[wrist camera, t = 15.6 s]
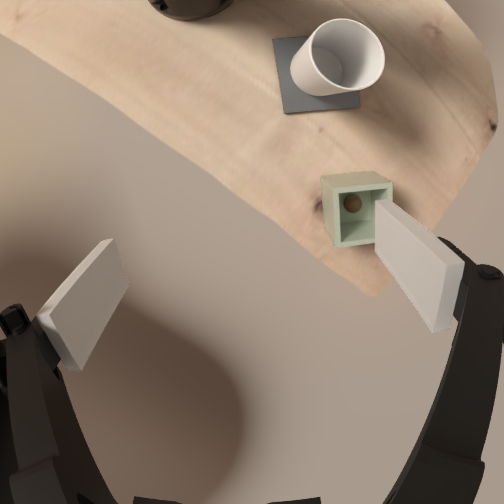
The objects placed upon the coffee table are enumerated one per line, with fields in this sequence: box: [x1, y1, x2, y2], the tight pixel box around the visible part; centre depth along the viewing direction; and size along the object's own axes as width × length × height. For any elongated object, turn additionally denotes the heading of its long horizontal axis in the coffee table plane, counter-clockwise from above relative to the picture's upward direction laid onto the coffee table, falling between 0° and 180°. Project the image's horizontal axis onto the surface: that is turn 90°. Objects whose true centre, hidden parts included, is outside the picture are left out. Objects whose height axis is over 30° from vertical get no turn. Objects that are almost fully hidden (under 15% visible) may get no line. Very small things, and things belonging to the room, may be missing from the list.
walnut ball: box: [344, 194, 362, 213], centre depth 47 cm, size 3×3×3 cm
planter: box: [320, 171, 393, 248], centre depth 46 cm, size 9×9×8 cm
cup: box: [290, 19, 385, 96], centre depth 33 cm, size 8×8×16 cm
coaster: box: [272, 36, 360, 113], centre depth 40 cm, size 12×12×1 cm
